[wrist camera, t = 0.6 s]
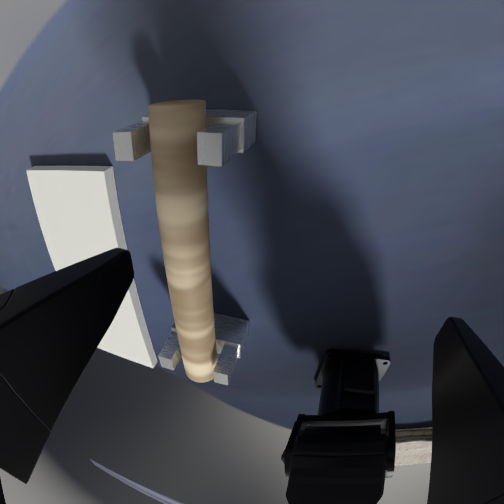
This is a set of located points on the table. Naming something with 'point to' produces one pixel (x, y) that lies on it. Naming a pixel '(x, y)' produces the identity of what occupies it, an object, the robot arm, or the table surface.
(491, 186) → the table surface
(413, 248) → the table surface
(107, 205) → the cutting board
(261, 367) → the table surface
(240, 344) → the aluminium cradles
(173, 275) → the beech dowel
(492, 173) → the table surface
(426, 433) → the washcloth
